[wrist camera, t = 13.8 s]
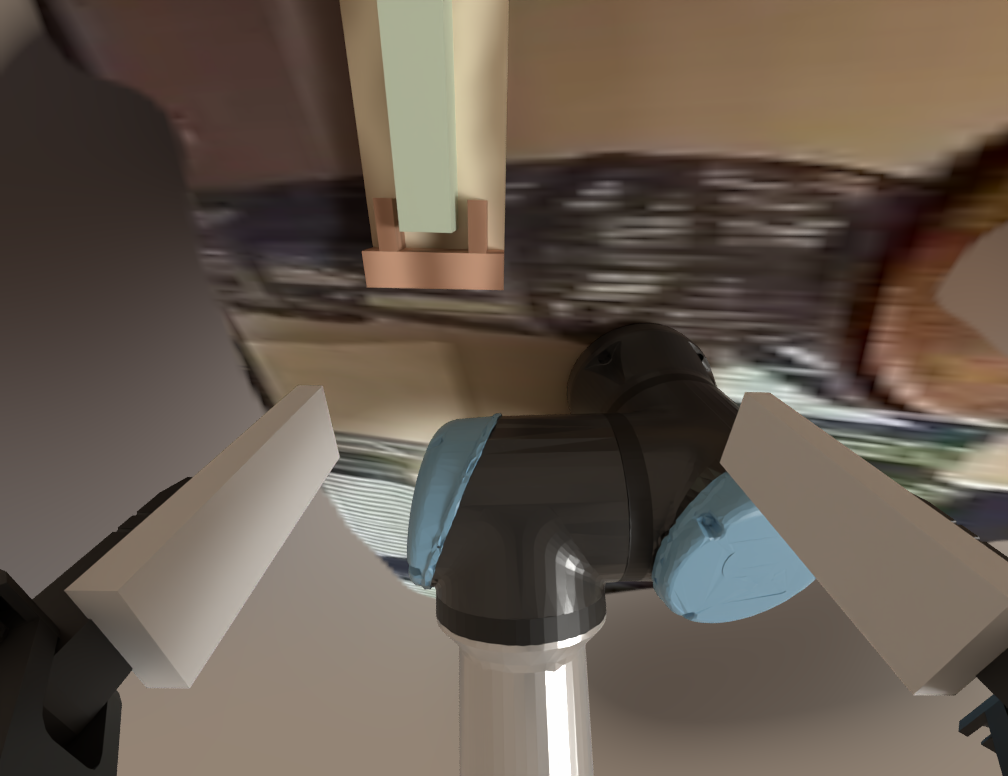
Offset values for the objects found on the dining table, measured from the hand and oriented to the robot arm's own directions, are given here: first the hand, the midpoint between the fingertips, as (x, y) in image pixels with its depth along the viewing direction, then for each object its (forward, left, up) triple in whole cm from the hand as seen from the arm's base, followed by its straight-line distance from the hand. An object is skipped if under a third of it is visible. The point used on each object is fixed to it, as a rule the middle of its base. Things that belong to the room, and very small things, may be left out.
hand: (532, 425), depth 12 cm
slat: (+7, -16, -26) cm, 31 cm away
